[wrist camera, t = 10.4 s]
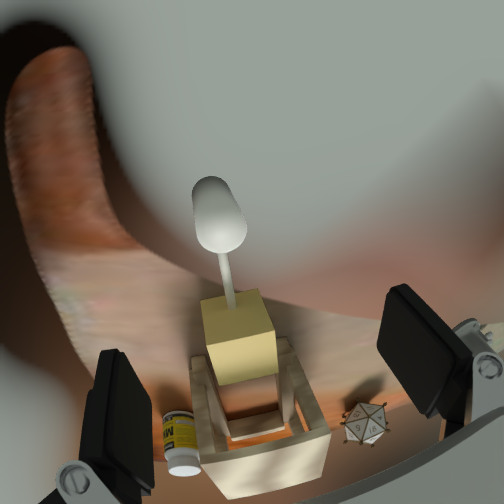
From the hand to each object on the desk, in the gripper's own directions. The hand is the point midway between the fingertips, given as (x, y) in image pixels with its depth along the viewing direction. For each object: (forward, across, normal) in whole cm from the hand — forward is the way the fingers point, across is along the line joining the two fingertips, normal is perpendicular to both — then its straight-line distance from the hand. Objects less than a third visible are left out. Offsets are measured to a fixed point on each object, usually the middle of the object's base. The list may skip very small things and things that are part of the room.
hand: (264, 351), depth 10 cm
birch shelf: (+16, 0, +24) cm, 29 cm away
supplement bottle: (+17, +10, +28) cm, 35 cm away
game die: (+17, -17, +38) cm, 45 cm away
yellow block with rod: (+16, 0, +6) cm, 18 cm away
